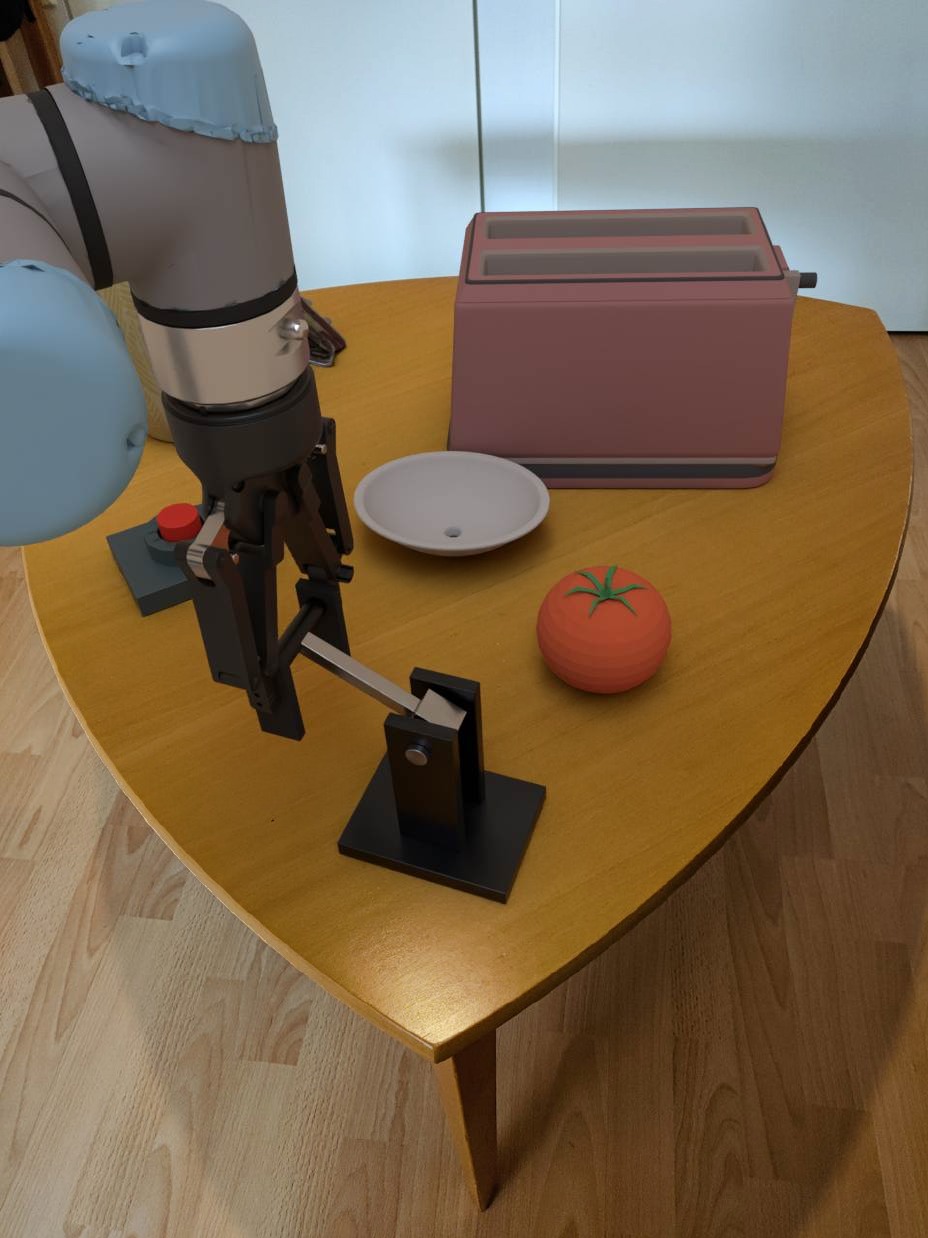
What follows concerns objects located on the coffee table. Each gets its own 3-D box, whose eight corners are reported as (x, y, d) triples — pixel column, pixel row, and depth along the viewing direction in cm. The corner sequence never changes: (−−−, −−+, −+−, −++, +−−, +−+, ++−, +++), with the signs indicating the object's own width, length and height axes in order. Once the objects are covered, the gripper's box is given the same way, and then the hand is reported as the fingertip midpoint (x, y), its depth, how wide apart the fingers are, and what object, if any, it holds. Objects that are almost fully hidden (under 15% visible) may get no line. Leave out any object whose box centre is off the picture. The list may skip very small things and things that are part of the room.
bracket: (338, 854, 68) (310, 732, 59) (391, 755, 74) (372, 631, 65) (506, 905, 64) (502, 784, 56) (546, 797, 70) (549, 672, 62)
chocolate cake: (371, 346, 120) (315, 259, 119) (339, 356, 115) (279, 266, 113) (322, 388, 126) (268, 306, 125) (289, 400, 120) (232, 314, 119)
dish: (338, 580, 88) (331, 536, 85) (383, 485, 99) (378, 442, 95) (534, 603, 85) (534, 559, 82) (560, 503, 95) (561, 459, 92)
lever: (256, 674, 60) (266, 654, 58) (302, 609, 64) (312, 588, 62) (428, 778, 61) (443, 761, 59) (462, 707, 65) (477, 689, 63)
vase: (306, 415, 109) (260, 158, 90) (158, 474, 102) (76, 208, 83) (235, 355, 119) (181, 113, 100) (98, 405, 112) (12, 155, 94)
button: (168, 548, 87) (163, 532, 86) (156, 526, 89) (151, 511, 88) (207, 534, 88) (203, 518, 87) (194, 513, 91) (190, 498, 89)
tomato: (681, 646, 81) (695, 551, 74) (643, 736, 74) (655, 641, 67) (562, 614, 84) (565, 520, 77) (515, 697, 77) (514, 603, 71)
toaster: (800, 491, 95) (847, 286, 81) (445, 490, 97) (431, 292, 83) (768, 386, 109) (804, 196, 95) (458, 388, 111) (448, 203, 97)
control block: (143, 617, 86) (130, 582, 83) (112, 554, 93) (99, 520, 90) (272, 568, 90) (264, 533, 87) (234, 511, 97) (225, 477, 94)
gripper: (199, 500, 41) (291, 826, 57) (384, 297, 54) (417, 610, 70) (50, 469, 43) (179, 792, 59) (262, 281, 56) (321, 588, 72)
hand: (307, 693), depth 64 cm, fingers closed on lever, 6 cm apart
